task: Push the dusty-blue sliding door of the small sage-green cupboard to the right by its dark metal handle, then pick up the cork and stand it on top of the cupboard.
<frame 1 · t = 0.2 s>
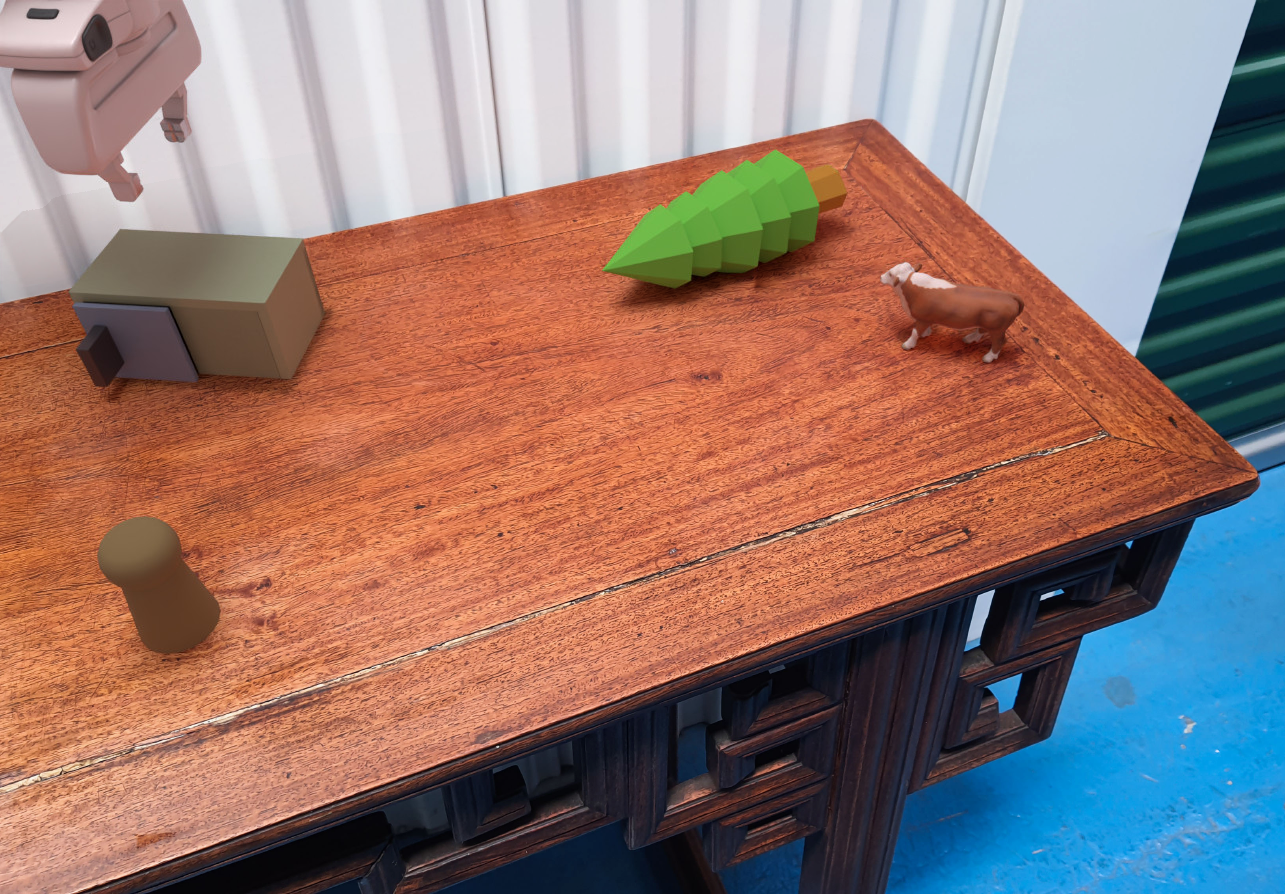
hand: (156, 166, 83), 20 cm above the table, tool pointing down, fingers open, 8 cm apart
cupboard: (223, 348, 98), on the table
cork: (186, 630, 75), on the table
decorative tree: (718, 268, 107), on the table
slide door: (129, 355, 89), point 5 cm above the table, slide at 0.0 cm
bull figurine: (936, 345, 98), on the table
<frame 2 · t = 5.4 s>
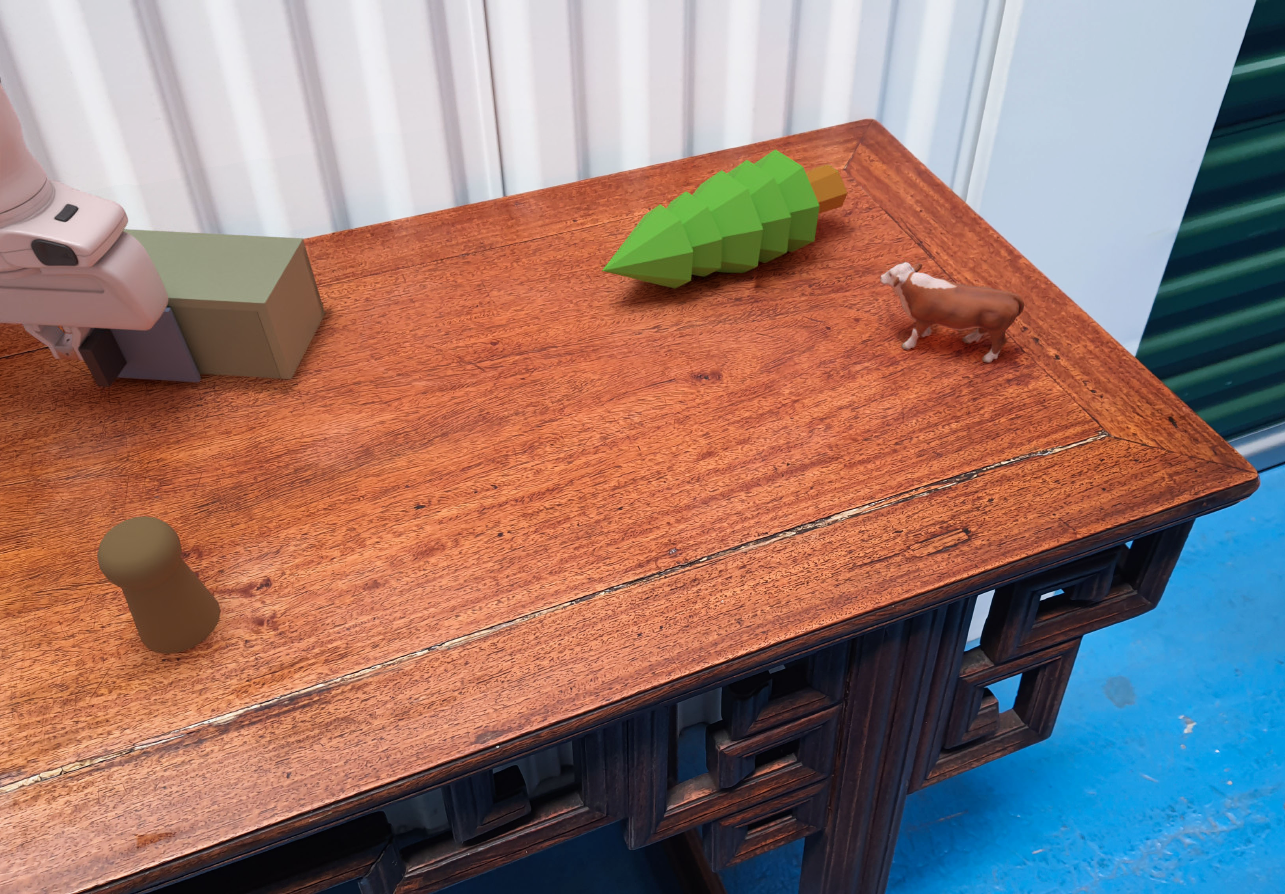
hand: (76, 355, 89), 6 cm above the table, tool pointing down, fingers closed
slide door: (131, 355, 89), point 5 cm above the table, slide at 0.2 cm, touching gripper
everything else where it was.
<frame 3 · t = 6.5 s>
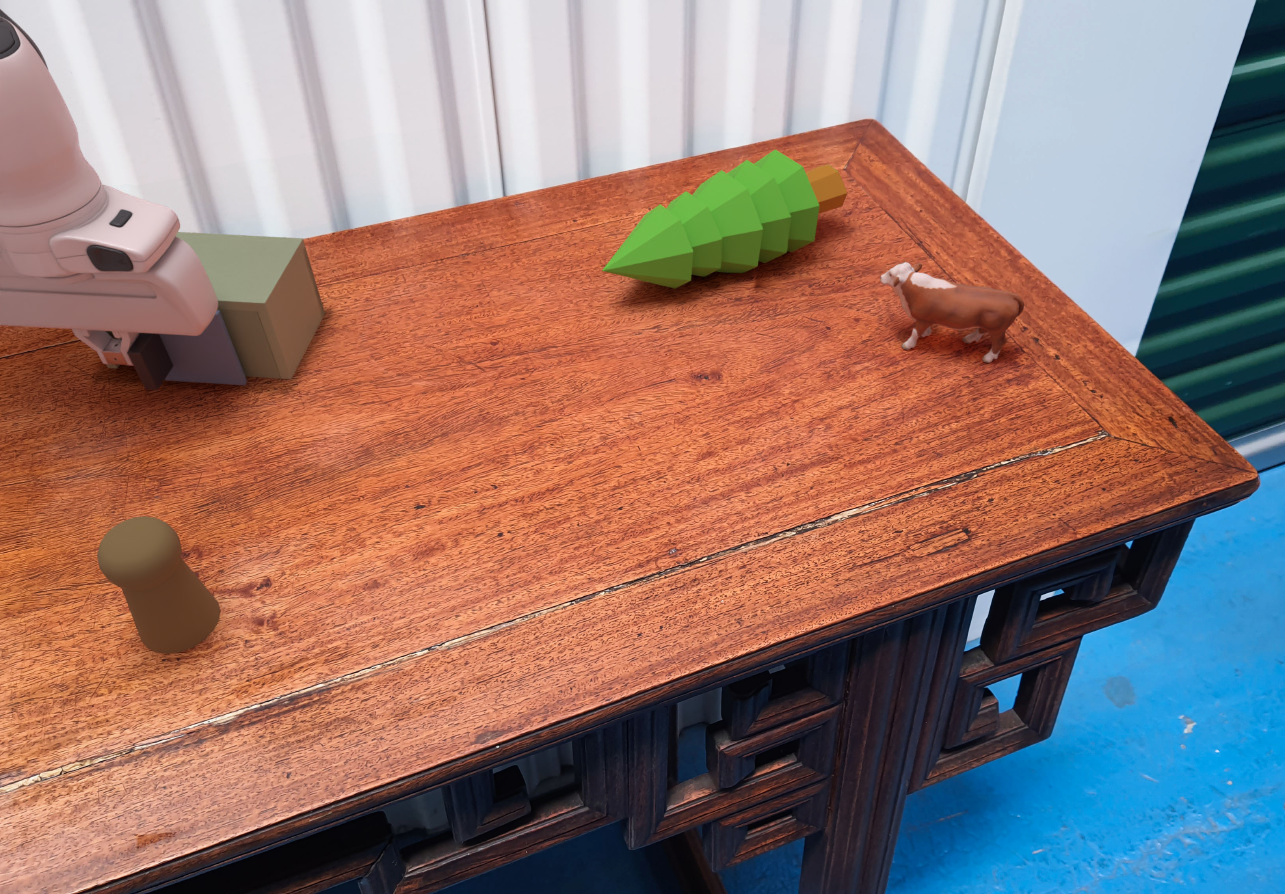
hand: (124, 360, 88), 5 cm above the table, tool pointing down, fingers closed
slide door: (179, 358, 89), point 5 cm above the table, slide at 4.7 cm, touching gripper
everything else where it was.
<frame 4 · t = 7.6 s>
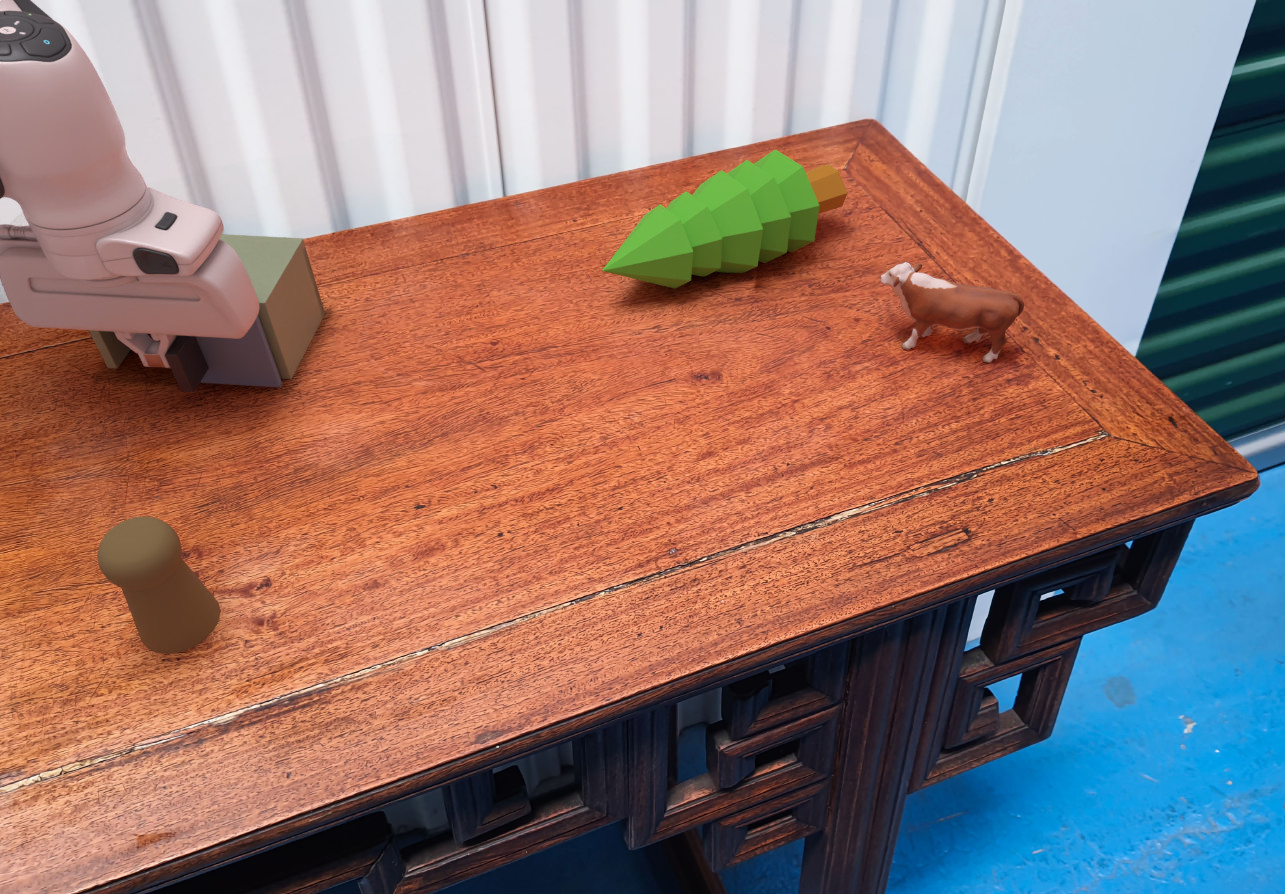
hand: (163, 363, 88), 5 cm above the table, tool pointing down, fingers closed
slide door: (215, 361, 88), point 5 cm above the table, slide at 8.1 cm, touching gripper
everything else where it was.
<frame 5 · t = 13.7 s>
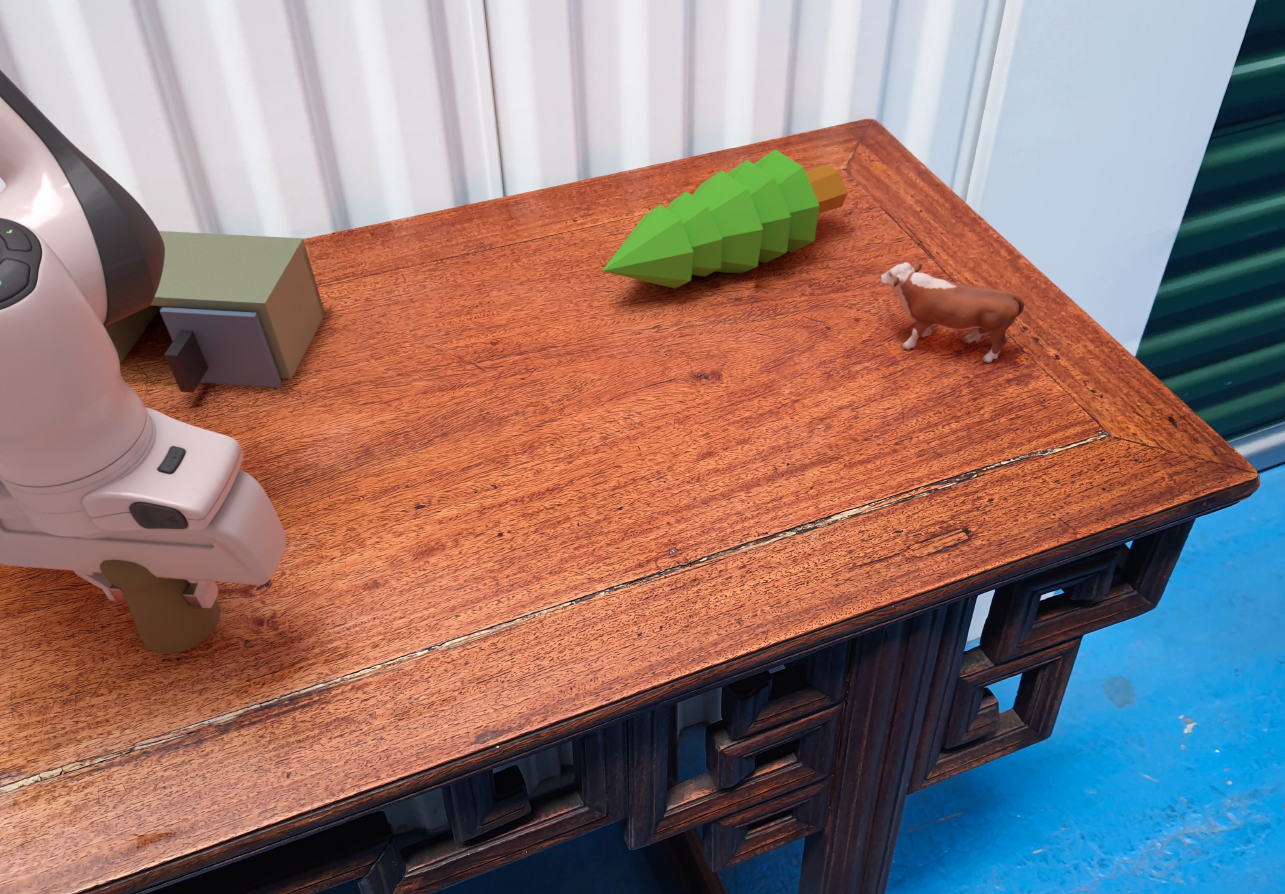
hand: (166, 597, 72), 4 cm above the table, tool pointing down, fingers closed on cork, 4 cm apart
cork: (186, 630, 75), on the table, touching gripper
slide door: (215, 361, 88), point 5 cm above the table, slide at 8.0 cm
everything else where it was.
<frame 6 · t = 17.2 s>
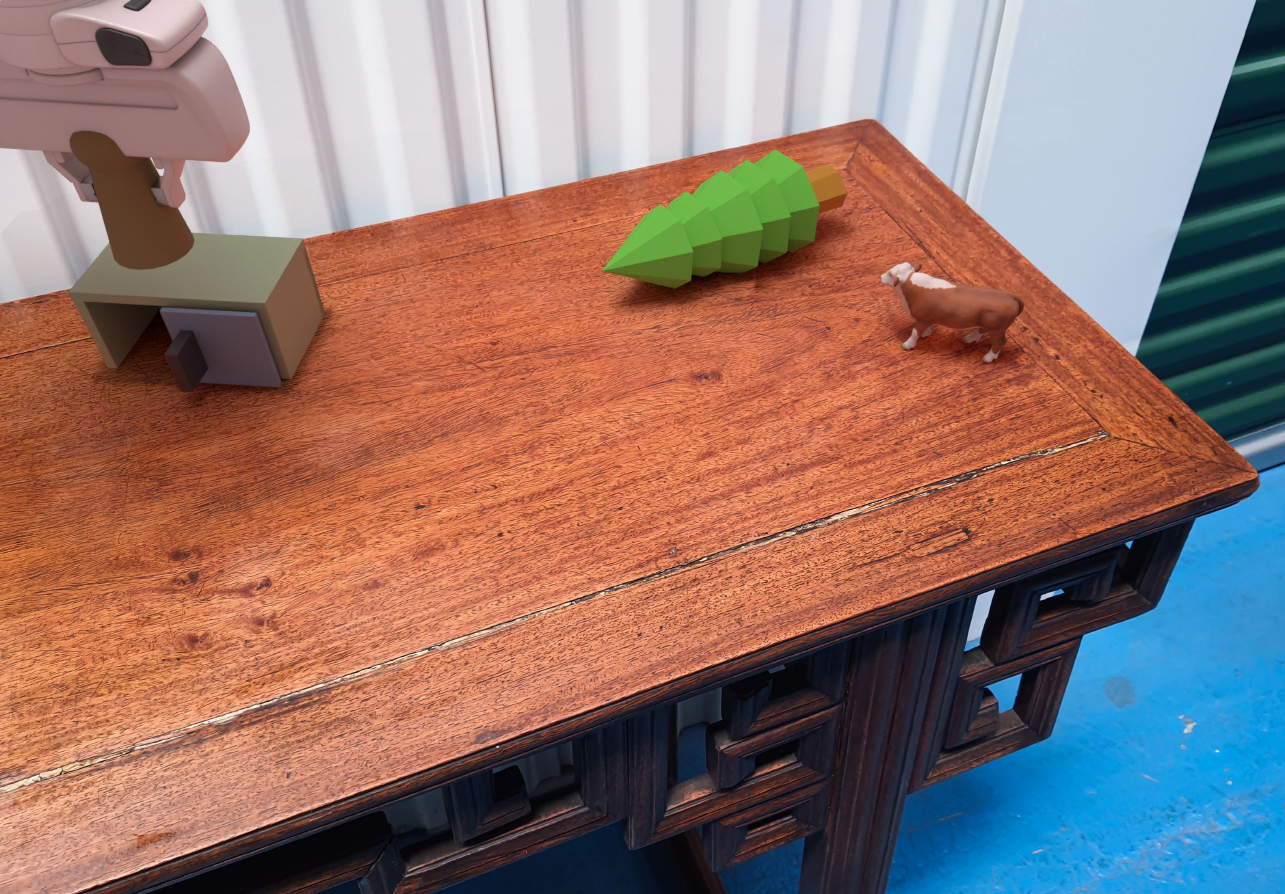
hand: (135, 200, 75), 23 cm above the table, tool pointing down, fingers closed on cork, 4 cm apart
cork: (155, 249, 78), point 18 cm above the table, touching gripper
everything else where it was.
when the fingers open (14 cm above the table, at t = 21.1 s): cork stays where it is, resting on cupboard.
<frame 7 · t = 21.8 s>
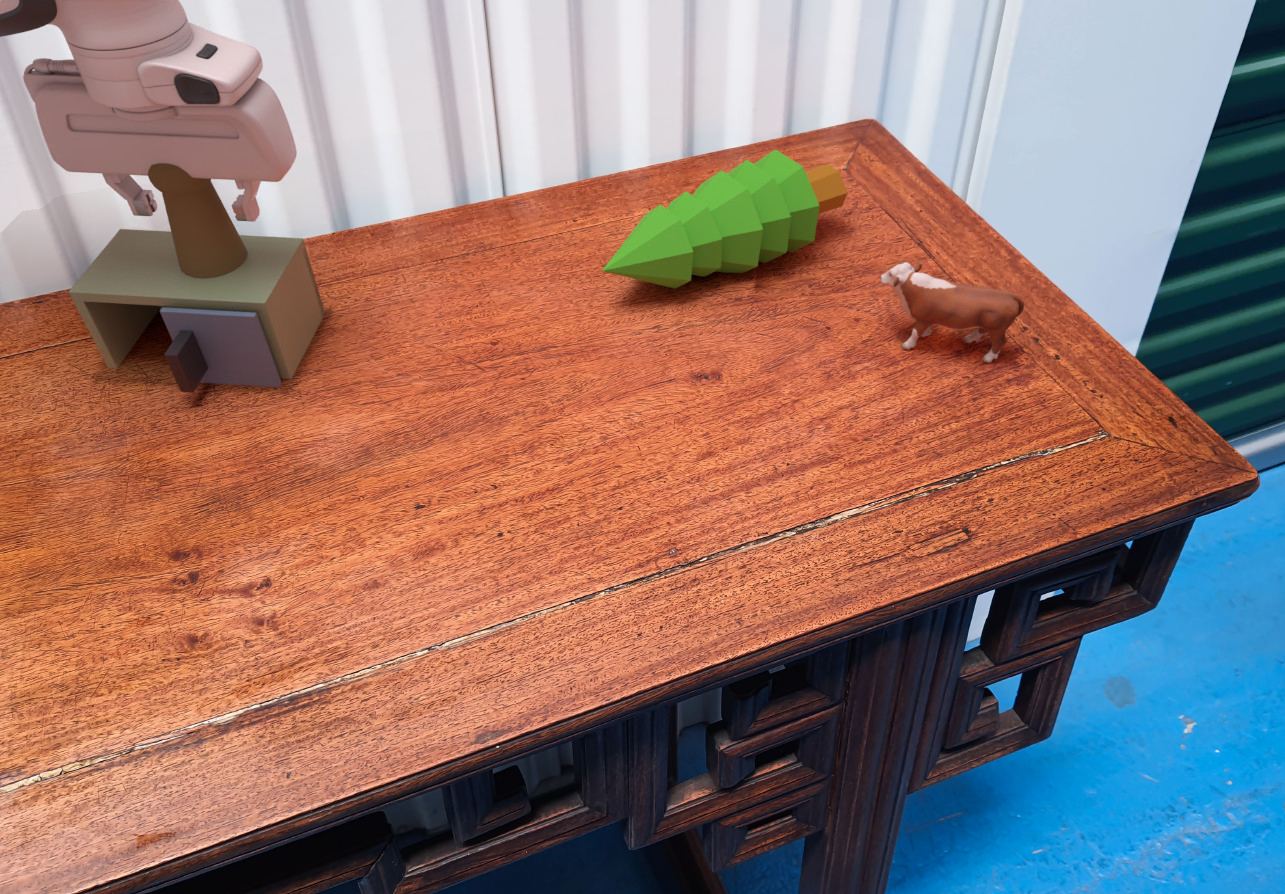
hand: (197, 215, 88), 15 cm above the table, tool pointing down, fingers open, 8 cm apart
cork: (214, 260, 91), point 10 cm above the table, touching cupboard
everything else where it was.
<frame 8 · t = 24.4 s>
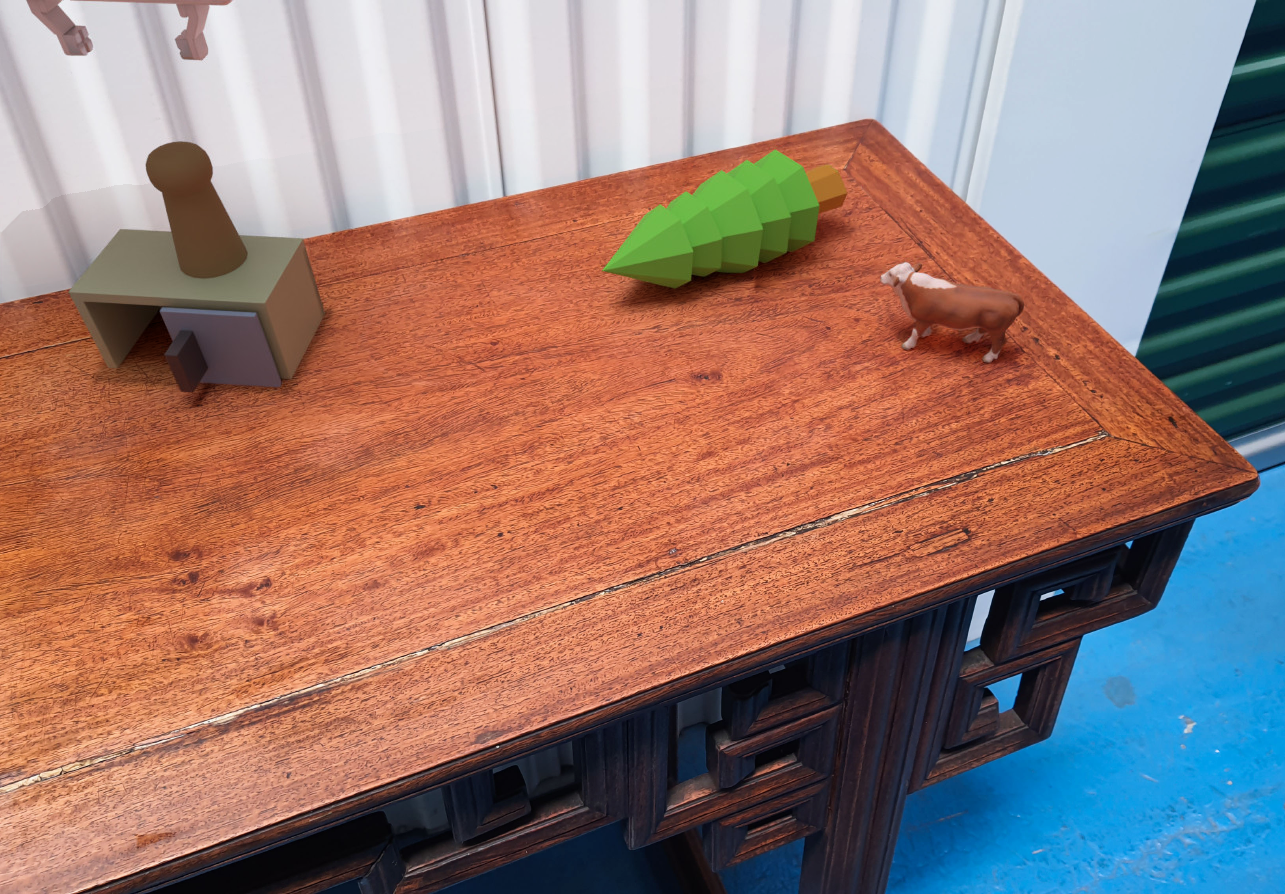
hand: (138, 55, 78), 29 cm above the table, tool pointing down, fingers open, 8 cm apart
nothing on the table moved.
at the end: slide door slide at 8.0 cm; cork inside the target area on the cupboard (2.0 cm from its centre), point 9.8 cm above the cupboard's base; cork tilted 0° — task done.
